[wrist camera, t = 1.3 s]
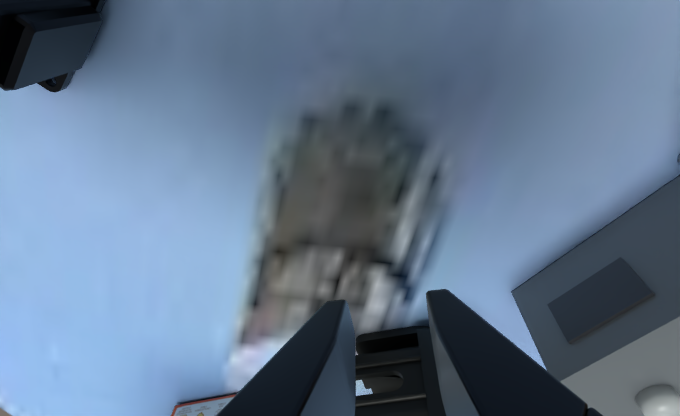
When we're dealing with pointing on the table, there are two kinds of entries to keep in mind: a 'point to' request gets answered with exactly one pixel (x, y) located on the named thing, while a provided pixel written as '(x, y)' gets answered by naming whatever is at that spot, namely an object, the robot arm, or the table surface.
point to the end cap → (398, 373)
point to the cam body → (615, 312)
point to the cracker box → (202, 407)
